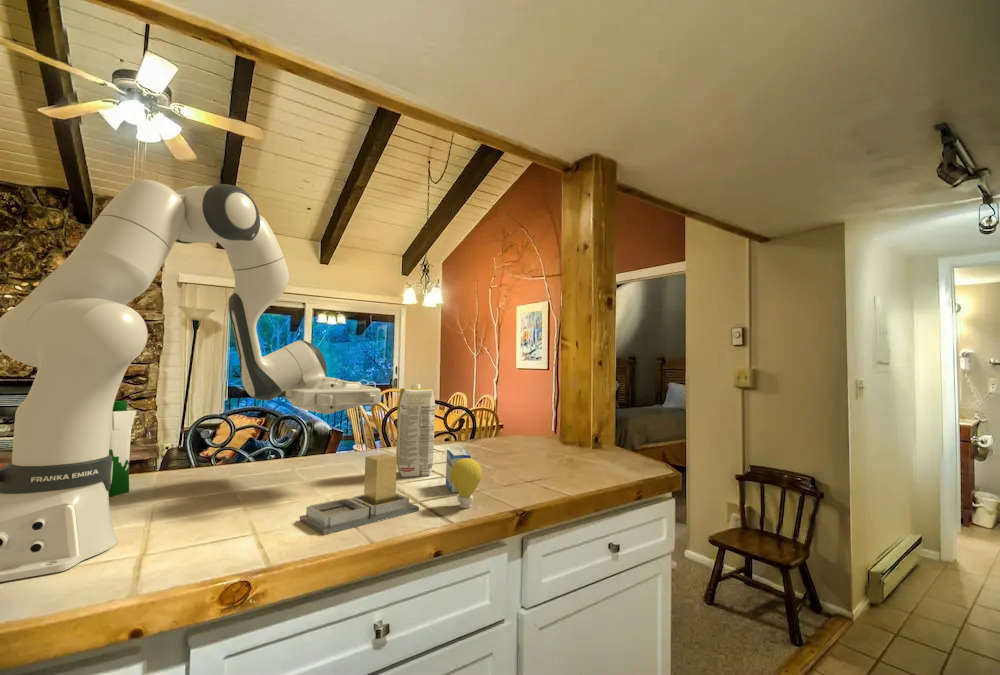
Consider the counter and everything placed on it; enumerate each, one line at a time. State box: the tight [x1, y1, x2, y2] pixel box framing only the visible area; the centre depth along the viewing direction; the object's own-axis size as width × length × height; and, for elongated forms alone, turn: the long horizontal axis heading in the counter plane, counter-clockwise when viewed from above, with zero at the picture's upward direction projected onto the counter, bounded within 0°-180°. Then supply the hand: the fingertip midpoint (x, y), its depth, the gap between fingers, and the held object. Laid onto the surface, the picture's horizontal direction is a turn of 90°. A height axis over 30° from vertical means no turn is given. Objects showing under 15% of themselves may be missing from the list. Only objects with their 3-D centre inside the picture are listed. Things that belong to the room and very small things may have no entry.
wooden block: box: [363, 453, 398, 505], centre depth 95 cm, size 4×4×10 cm
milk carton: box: [108, 399, 137, 498], centre depth 102 cm, size 9×9×20 cm
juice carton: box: [395, 383, 436, 478], centre depth 127 cm, size 9×8×24 cm
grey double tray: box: [299, 492, 420, 535], centre depth 92 cm, size 20×10×3 cm, turn 135°
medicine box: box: [445, 448, 472, 494], centre depth 113 cm, size 8×4×9 cm, turn 17°
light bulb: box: [450, 458, 483, 509], centre depth 99 cm, size 7×7×10 cm
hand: (353, 399), depth 104 cm, fingers open, 8 cm apart
